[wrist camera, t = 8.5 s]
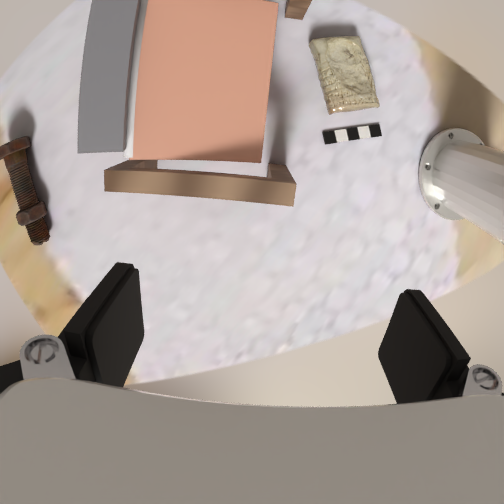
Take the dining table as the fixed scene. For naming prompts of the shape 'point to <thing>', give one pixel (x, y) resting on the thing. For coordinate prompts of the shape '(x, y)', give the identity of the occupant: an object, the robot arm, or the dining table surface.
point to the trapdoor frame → (208, 183)
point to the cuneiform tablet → (345, 83)
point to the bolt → (25, 190)
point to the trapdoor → (177, 79)
